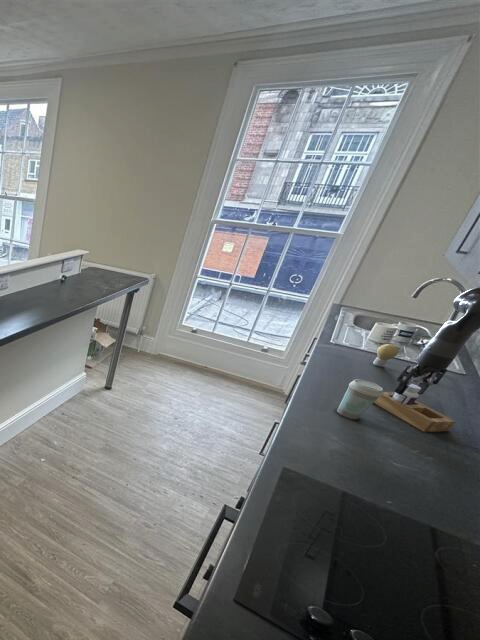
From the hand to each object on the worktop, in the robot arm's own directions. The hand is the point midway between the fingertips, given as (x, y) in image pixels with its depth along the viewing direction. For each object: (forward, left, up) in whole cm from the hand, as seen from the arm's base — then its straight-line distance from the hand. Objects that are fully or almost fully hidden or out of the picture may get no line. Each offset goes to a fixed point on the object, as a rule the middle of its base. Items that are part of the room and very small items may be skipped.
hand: (407, 393), depth 140 cm
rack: (0, +4, -7) cm, 8 cm away
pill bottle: (0, 0, -7) cm, 7 cm away
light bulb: (-32, -33, -7) cm, 46 cm away
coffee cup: (+24, +3, -7) cm, 25 cm away
